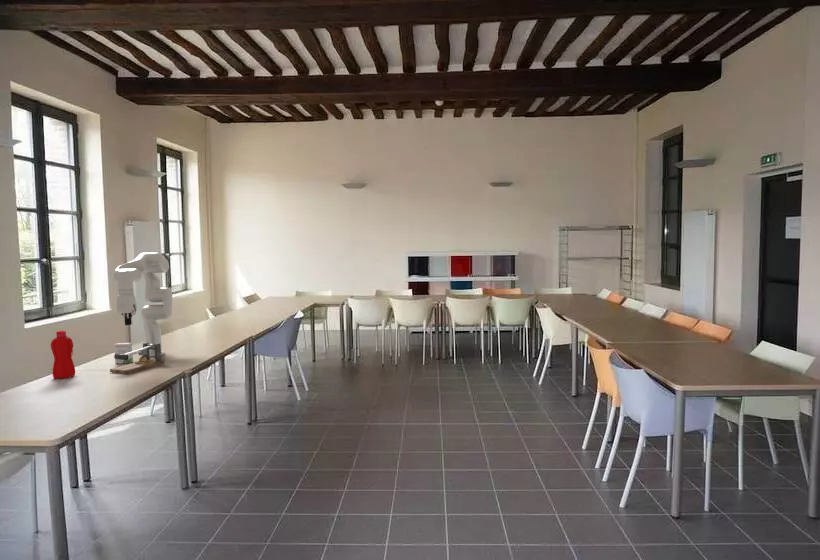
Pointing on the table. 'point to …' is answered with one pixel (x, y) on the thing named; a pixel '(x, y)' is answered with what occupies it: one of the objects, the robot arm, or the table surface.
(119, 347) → the ink box
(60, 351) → the red bottle
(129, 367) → the brown board with cylinder
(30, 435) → the table surface
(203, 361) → the table surface
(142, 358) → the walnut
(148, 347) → the lever
